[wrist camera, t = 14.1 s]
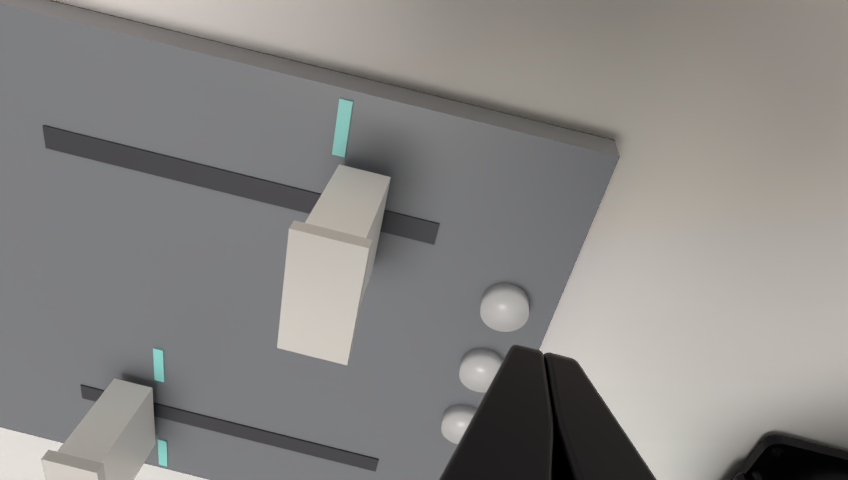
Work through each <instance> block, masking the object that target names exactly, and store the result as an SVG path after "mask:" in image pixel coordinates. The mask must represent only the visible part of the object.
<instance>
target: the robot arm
mask: <svg viewBox="0 0 848 480" xmlns="http://www.w3.org/2000/svg"><path fill="white" fill-rule="evenodd" d="M439 480H656V478H655V477H654V475H653V474H652V472H651V471H650V469H649V468H648V466H647V465H646V463H645V462H644V460H643V459H642V457H641V456H640V454H639V453H638V451H637V450H636V448H635V447H634V445H633V444H632V442H631V441H630V439H629V438H628V436H627V435H626V433H625V432H624V430H623V429H622V427H621V426H620V424H619V423H618V421H617V420H616V418H615V417H614V415H613V414H612V412H611V411H610V409H609V408H608V406H607V405H606V404H605V402H604V401H603V399H602V398H601V396H600V395H599V393H598V392H597V390H596V389H595V387H594V386H593V384H592V383H591V381H590V380H589V378H588V377H587V375H586V374H585V372H584V371H583V369H582V368H581V366H580V365H579V363H578V362H577V361H576V360H574V359H572V358H569V357H565V356H561V355H557V354H553V353H546V354H544V355H543V353H542V352H541V351H540V350H537V349H533V348H529V347H525V346H521V345H516V344H515V345H513V346H511V348H510V349H509V351H508V353H507V355H506V357H505V358H504V360H503V362H502V364H501V366H500V368H499V370H498V371H497V373H496V375H495V377H494V379H493V381H492V382H491V384H490V386H489V388H488V390H487V392H486V394H485V395H484V397H483V399H482V401H481V403H480V405H479V407H478V408H477V410H476V412H475V414H474V416H473V418H472V419H471V421H470V423H469V425H468V427H467V429H466V431H465V432H464V434H463V436H462V438H461V440H460V442H459V443H458V445H457V447H456V449H455V451H454V453H453V455H452V456H451V458H450V460H449V462H448V464H447V466H446V468H445V469H444V471H443V473H442V475H441V477H440V479H439ZM732 480H848V452H844V451H840V450H836V449H832V448H828V447H824V446H820V445H816V444H812V443H808V442H804V441H800V440H796V439H792V438H788V437H784V436H779V435H773V436H768V437H766V438H764V439H763V440H762V441H761V442H760V444H759V445H758V446H757V447H756V449H755V450H754V451H753V453H752V454H751V455H750V456H749V458H748V459H747V460H746V462H745V463H744V464H743V465H742V467H741V468H740V469H739V471H738V472H737V473H736V474H735V476H734V477H733V478H732Z"/></svg>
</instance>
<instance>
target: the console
mask: <svg viewBox="0 0 848 480" xmlns="http://www.w3.org/2000/svg"><path fill="white" fill-rule="evenodd" d="M618 159H619V154H618V150H617V147H616V144H615V141H614V140H611V139H607V138H603V137H598V136H594V135H590V134H586V133H582V132H578V131H574V130H570V129H566V128H562V127H558V126H554V125H550V124H546V123H542V122H538V121H534V120H530V119H526V118H522V117H518V116H514V115H510V114H506V113H502V112H498V111H494V110H490V109H486V108H482V107H477V106H473V105H469V104H465V103H461V102H457V101H453V100H449V99H445V98H441V97H437V96H433V95H429V94H425V93H421V92H417V91H413V90H409V89H405V88H401V87H397V86H393V85H389V84H385V83H381V82H377V81H373V80H369V79H365V78H361V77H357V76H352V75H348V74H344V73H340V72H336V71H332V70H328V69H324V68H320V67H316V66H312V65H308V64H304V63H300V62H296V61H292V60H288V59H284V58H280V57H276V56H272V55H268V54H264V53H260V52H256V51H252V50H248V49H244V48H240V47H236V46H231V45H227V44H223V43H219V42H215V41H211V40H207V39H203V38H199V37H195V36H191V35H187V34H183V33H179V32H175V31H171V30H167V29H163V28H159V27H155V26H151V25H147V24H143V23H139V22H135V21H131V20H127V19H123V18H119V17H115V16H111V15H106V14H102V13H98V12H94V11H90V10H86V9H82V8H78V7H74V6H70V5H66V4H62V3H58V2H54V1H50V0H0V427H2V428H6V429H10V430H14V431H18V432H22V433H26V434H30V435H34V436H38V437H42V438H46V439H49V440H53V441H57V442H61V443H64V442H65V441H66V440H67V438H68V437H69V436H70V435H71V433H72V432H73V431H74V429H75V428H76V427H77V426H78V424H79V423H80V422H81V420H82V419H83V418H84V417H85V415H86V414H87V413H88V411H89V410H90V409H91V408H92V406H93V405H94V404H95V402H96V401H97V400H98V399H99V397H100V396H101V395H102V393H103V392H104V391H105V390H106V388H107V387H108V386H109V384H110V383H111V382H112V381H113V379H114V378H115V379H119V380H123V381H127V382H131V383H135V384H139V385H143V386H147V387H151V388H152V389H153V407H154V425H155V446H154V448H153V449H152V451H151V452H150V454H149V456H148V457H147V459H146V460H145V462H144V463H145V464H149V465H153V466H157V467H161V468H165V469H169V470H173V471H177V472H181V473H185V474H189V475H193V476H197V477H201V478H205V479H209V480H439V479H440V477H441V475H442V473H443V471H444V469H445V468H446V466H447V464H448V462H449V460H450V458H451V456H452V455H453V453H454V451H455V449H456V447H457V445H458V443H459V442H460V440H461V438H462V436H463V434H464V432H465V431H466V429H467V427H468V425H469V423H470V421H471V419H472V418H473V416H474V414H475V412H476V410H477V408H478V407H479V405H480V403H481V401H482V399H483V397H484V395H485V394H486V392H487V390H488V388H489V386H490V384H491V382H492V381H493V379H494V377H495V375H496V373H497V371H498V370H499V368H500V366H501V364H502V362H503V360H504V358H505V357H506V355H507V353H508V351H509V349H510V348H511V346H513V345H515V344H516V345H521V346H525V347H529V348H533V349H537V350H539V348H540V345H541V343H542V341H543V338H544V336H545V334H546V331H547V329H548V326H549V324H550V322H551V319H552V317H553V314H554V312H555V310H556V307H557V305H558V303H559V300H560V298H561V295H562V293H563V291H564V288H565V286H566V283H567V281H568V279H569V276H570V274H571V271H572V269H573V267H574V264H575V262H576V260H577V257H578V255H579V252H580V250H581V248H582V245H583V243H584V240H585V238H586V236H587V233H588V231H589V229H590V226H591V224H592V221H593V219H594V217H595V214H596V212H597V209H598V207H599V205H600V202H601V200H602V198H603V195H604V193H605V190H606V188H607V186H608V183H609V181H610V178H611V176H612V174H613V171H614V169H615V167H616V164H617V162H618ZM339 164H340V165H344V166H348V167H352V168H356V169H360V170H364V171H368V172H373V173H377V174H381V175H385V176H389V177H391V179H390V184H389V189H388V194H387V199H386V204H385V210H384V215H383V220H382V225H381V230H380V235H379V240H378V245H377V250H376V255H375V260H374V265H373V270H372V274H371V276H370V279H369V282H368V285H367V288H366V290H365V293H364V296H363V299H362V302H361V304H360V308H359V314H358V319H357V324H356V329H355V335H354V340H353V345H352V350H351V356H350V358H349V361H348V364H347V365H344V364H340V363H336V362H332V361H328V360H324V359H320V358H316V357H312V356H308V355H304V354H300V353H295V352H291V351H287V350H283V349H279V348H277V343H278V333H279V323H280V313H281V303H282V293H283V283H284V273H285V263H286V253H287V243H288V233H289V228H290V226H291V224H292V223H293V221H294V220H295V221H299V222H303V223H305V222H306V220H307V218H308V216H309V215H310V213H311V211H312V210H313V208H314V206H315V205H316V203H317V201H318V199H319V198H320V196H321V194H322V193H323V191H324V189H325V188H326V186H327V184H328V182H329V181H330V179H331V177H332V176H333V174H334V172H335V171H336V169H337V167H338V165H339Z"/></svg>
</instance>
